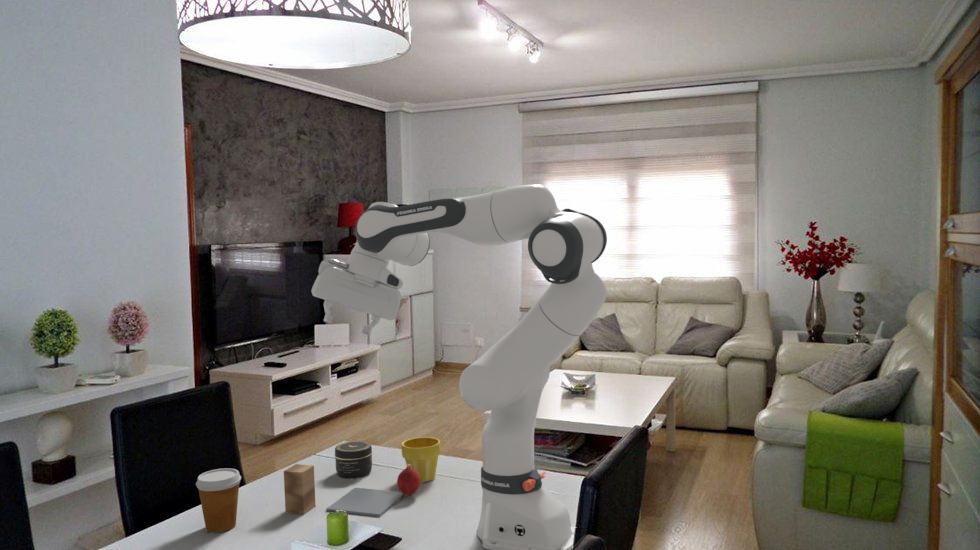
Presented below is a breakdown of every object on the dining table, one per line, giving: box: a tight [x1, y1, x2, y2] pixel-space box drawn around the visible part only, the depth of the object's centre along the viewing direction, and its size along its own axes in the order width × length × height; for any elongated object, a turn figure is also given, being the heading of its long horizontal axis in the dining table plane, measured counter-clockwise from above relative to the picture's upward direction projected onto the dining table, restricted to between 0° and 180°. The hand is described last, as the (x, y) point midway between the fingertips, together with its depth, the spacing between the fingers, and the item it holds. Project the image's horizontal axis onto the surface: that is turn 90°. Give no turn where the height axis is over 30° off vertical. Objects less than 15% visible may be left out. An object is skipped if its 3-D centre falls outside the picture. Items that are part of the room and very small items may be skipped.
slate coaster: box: [325, 487, 405, 518], centre depth 167 cm, size 14×14×1 cm
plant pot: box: [401, 436, 442, 483], centre depth 183 cm, size 10×10×10 cm
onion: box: [396, 464, 422, 497], centre depth 170 cm, size 6×6×8 cm
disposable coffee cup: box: [195, 467, 242, 533], centre depth 154 cm, size 10×10×12 cm
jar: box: [334, 440, 373, 480], centre depth 188 cm, size 10×10×8 cm
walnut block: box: [283, 463, 317, 516], centre depth 163 cm, size 5×5×10 cm
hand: (346, 328), depth 156 cm, fingers open, 8 cm apart
